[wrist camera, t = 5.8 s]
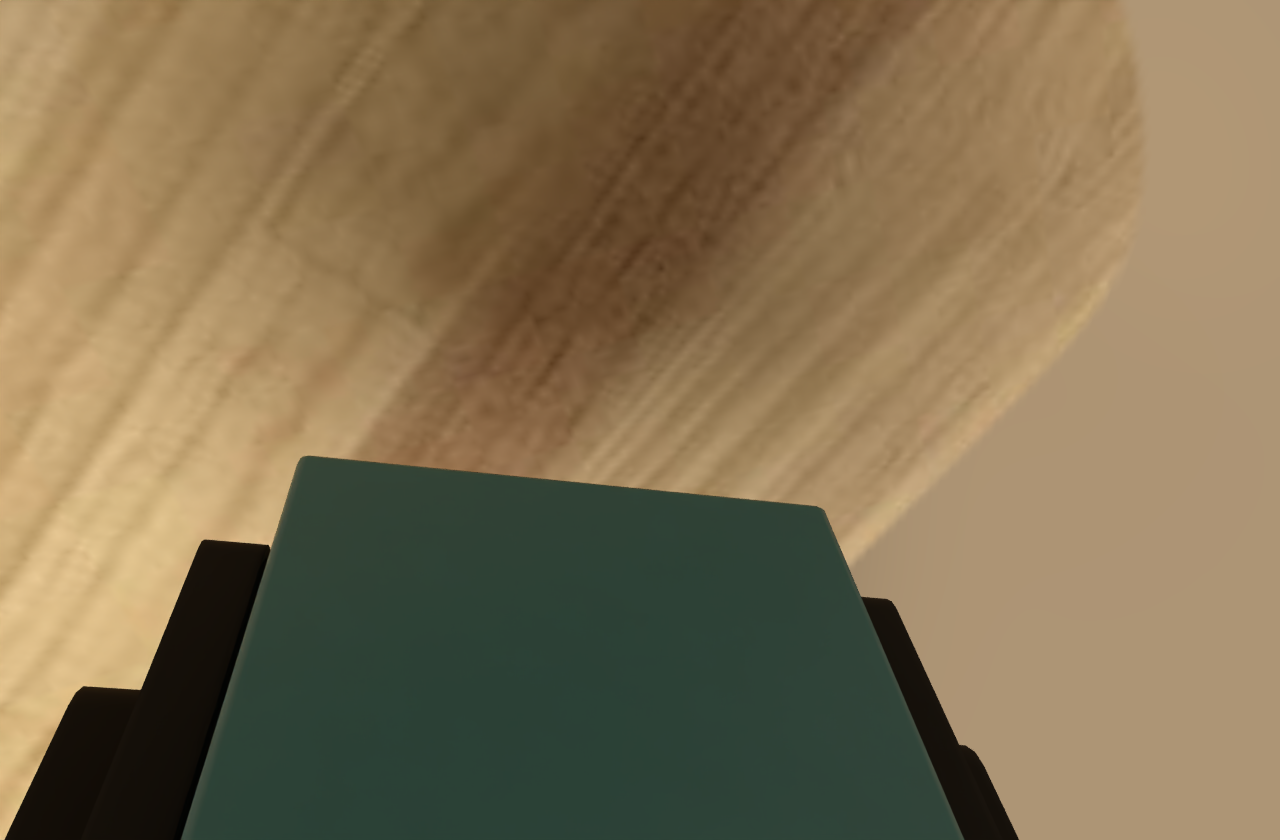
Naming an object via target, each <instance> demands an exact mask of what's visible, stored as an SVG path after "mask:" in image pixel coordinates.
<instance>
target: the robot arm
mask: <svg viewBox="0 0 1280 840" xmlns="http://www.w3.org/2000/svg"><path fill="white" fill-rule="evenodd" d="M269 553H270V547H269V545H262V544H251V543H239V542H228V541H216V540H203V541H202V542H201V544H200V546H199V548H198V550H197V552H196V555H195V557H194V560H193V562H192V565H191V567H190V570H189V572H188V575H187V577H186V580H185V582H184V585H183V587H182V590H181V592H180V595H179V597H178V599H177V602H176V604H175V607H174V609H173V612H172V614H171V617H170V619H169V622H168V624H167V627H166V629H165V632H164V634H163V637H162V639H161V642H160V644H159V647H158V649H157V652H156V654H155V656H154V659H153V661H152V664H151V666H150V669H149V671H148V674H147V676H146V679H145V681H144V684H143V686H142V689H141V690H131V689H116V688H101V687H86V686H83V687H82V688H81V689H80V690H78V691H77V692H76V693H75V695H74V697H73V698H72V700H71V702H70V704H69V705H68V707H67V709H66V711H65V713H64V716H63V718H62V720H61V722H60V724H59V726H58V728H57V730H56V732H55V734H54V737H53V739H52V741H51V743H50V745H49V747H48V749H47V751H46V753H45V756H44V758H43V760H42V762H41V764H40V766H39V768H38V770H37V772H36V774H35V777H34V779H33V781H32V783H31V785H30V787H29V789H28V791H27V793H26V796H25V798H24V800H23V802H22V804H21V806H20V808H19V810H18V812H17V814H16V817H15V819H14V821H13V823H12V825H11V827H10V829H9V831H8V833H7V836H6V838H5V840H181V838H182V834H183V831H184V828H185V825H186V821H187V818H188V815H189V812H190V809H191V805H192V802H193V799H194V796H195V792H196V789H197V786H198V783H199V779H200V776H201V773H202V770H203V767H204V763H205V760H206V757H207V754H208V750H209V747H210V744H211V741H212V738H213V734H214V731H215V728H216V725H217V721H218V718H219V715H220V712H221V708H222V705H223V702H224V699H225V696H226V692H227V689H228V686H229V683H230V679H231V676H232V673H233V670H234V666H235V663H236V660H237V657H238V654H239V650H240V647H241V644H242V641H243V637H244V634H245V631H246V628H247V625H248V621H249V618H250V615H251V612H252V608H253V605H254V602H255V599H256V595H257V592H258V589H259V586H260V583H261V579H262V576H263V573H264V570H265V566H266V563H267V560H268V557H269ZM861 598H862V600H863V603H864V605H865V607H866V610H867V612H868V615H869V617H870V619H871V622H872V624H873V626H874V629H875V631H876V633H877V636H878V638H879V640H880V643H881V645H882V647H883V650H884V652H885V655H886V657H887V659H888V662H889V664H890V666H891V669H892V671H893V673H894V676H895V678H896V680H897V683H898V685H899V687H900V690H901V692H902V695H903V697H904V699H905V702H906V704H907V706H908V709H909V711H910V713H911V716H912V718H913V720H914V723H915V725H916V727H917V730H918V732H919V735H920V737H921V739H922V742H923V744H924V746H925V749H926V751H927V753H928V756H929V758H930V760H931V763H932V765H933V767H934V770H935V772H936V775H937V777H938V779H939V782H940V784H941V786H942V789H943V791H944V793H945V796H946V798H947V800H948V803H949V805H950V807H951V810H952V812H953V815H954V817H955V819H956V822H957V824H958V826H959V829H960V831H961V833H962V836H963V838H964V840H1019V839H1018V837H1017V835H1016V833H1015V830H1014V828H1013V826H1012V824H1011V822H1010V820H1009V818H1008V816H1007V814H1006V812H1005V809H1004V807H1003V805H1002V803H1001V801H1000V799H999V797H998V795H997V792H996V790H995V789H994V786H993V784H992V782H991V780H990V778H989V776H988V774H987V772H986V769H985V767H984V765H983V764H982V762H981V761H980V759H979V757H978V756H977V754H976V753H975V752H974V751H973V750H971V749H970V748H968V747H967V746H965V745H959V744H958V741H957V739H956V737H955V735H954V733H953V730H952V728H951V726H950V724H949V722H948V720H947V718H946V715H945V713H944V711H943V709H942V707H941V704H940V702H939V700H938V698H937V696H936V693H935V691H934V689H933V687H932V685H931V683H930V680H929V678H928V676H927V674H926V672H925V670H924V667H923V665H922V663H921V661H920V659H919V657H918V654H917V652H916V650H915V648H914V646H913V644H912V641H911V639H910V637H909V635H908V633H907V630H906V628H905V626H904V624H903V622H902V620H901V618H900V615H899V613H898V611H897V609H896V607H895V606H894V604H893V603H892V601H890V600H888V599H880V598H869V597H861Z"/></svg>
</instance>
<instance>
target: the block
mask: <svg viewBox="0 0 1280 840" xmlns="http://www.w3.org/2000/svg"><path fill="white" fill-rule="evenodd" d="M181 840H964V838H963V836H962V833H961V831H960V829H959V826H958V824H957V822H956V819H955V817H954V815H953V812H952V810H951V807H950V805H949V803H948V800H947V798H946V796H945V793H944V791H943V789H942V786H941V784H940V782H939V779H938V777H937V775H936V772H935V770H934V767H933V765H932V763H931V760H930V758H929V756H928V753H927V751H926V749H925V746H924V744H923V742H922V739H921V737H920V735H919V732H918V730H917V727H916V725H915V723H914V720H913V718H912V716H911V713H910V711H909V709H908V706H907V704H906V702H905V699H904V697H903V695H902V692H901V690H900V687H899V685H898V683H897V680H896V678H895V676H894V673H893V671H892V669H891V666H890V664H889V662H888V659H887V657H886V655H885V652H884V650H883V647H882V645H881V643H880V640H879V638H878V636H877V633H876V631H875V629H874V626H873V624H872V622H871V619H870V617H869V615H868V612H867V610H866V607H865V605H864V603H863V600H862V598H861V596H860V594H859V591H858V589H857V586H856V584H855V582H854V579H853V577H852V575H851V572H850V570H849V567H848V565H847V563H846V560H845V558H844V556H843V553H842V551H841V549H840V546H839V544H838V542H837V539H836V537H835V535H834V532H833V530H832V527H831V525H830V523H829V520H828V518H827V516H826V513H825V511H824V510H823V509H822V508H819V507H817V506H809V505H799V504H789V503H779V502H769V501H759V500H749V499H739V498H729V497H719V496H709V495H699V494H689V493H679V492H669V491H659V490H649V489H639V488H629V487H619V486H609V485H599V484H589V483H579V482H569V481H558V480H548V479H538V478H528V477H518V476H508V475H498V474H488V473H478V472H468V471H458V470H448V469H438V468H428V467H418V466H408V465H398V464H388V463H378V462H368V461H358V460H348V459H338V458H328V457H318V456H304V457H302V458H300V460H299V462H298V464H297V466H296V470H295V473H294V476H293V479H292V482H291V486H290V489H289V492H288V495H287V499H286V502H285V505H284V508H283V512H282V515H281V518H280V521H279V524H278V528H277V531H276V534H275V537H274V541H273V544H272V547H271V550H270V553H269V557H268V560H267V563H266V566H265V570H264V573H263V576H262V579H261V583H260V586H259V589H258V592H257V595H256V599H255V602H254V605H253V608H252V612H251V615H250V618H249V621H248V625H247V628H246V631H245V634H244V637H243V641H242V644H241V647H240V650H239V654H238V657H237V660H236V663H235V666H234V670H233V673H232V676H231V679H230V683H229V686H228V689H227V692H226V696H225V699H224V702H223V705H222V708H221V712H220V715H219V718H218V721H217V725H216V728H215V731H214V734H213V738H212V741H211V744H210V747H209V750H208V754H207V757H206V760H205V763H204V767H203V770H202V773H201V776H200V779H199V783H198V786H197V789H196V792H195V796H194V799H193V802H192V805H191V809H190V812H189V815H188V818H187V821H186V825H185V828H184V831H183V834H182V838H181Z"/></svg>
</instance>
